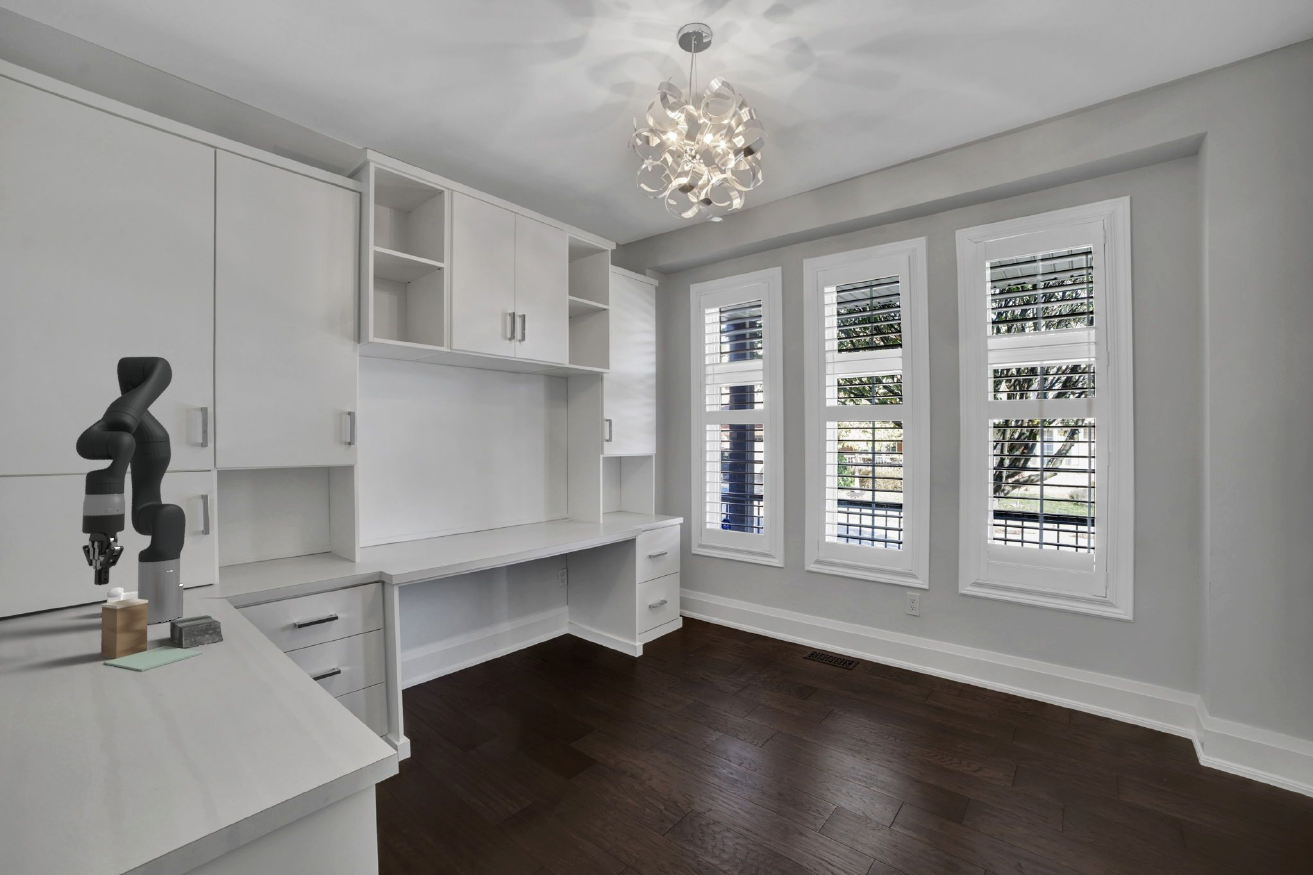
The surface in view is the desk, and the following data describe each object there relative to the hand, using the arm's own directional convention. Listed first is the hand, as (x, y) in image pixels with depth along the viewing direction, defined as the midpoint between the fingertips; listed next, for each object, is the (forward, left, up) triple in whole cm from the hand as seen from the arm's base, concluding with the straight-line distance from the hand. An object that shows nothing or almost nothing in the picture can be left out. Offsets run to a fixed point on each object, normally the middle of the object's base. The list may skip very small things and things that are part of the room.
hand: (101, 584), depth 142 cm
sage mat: (0, +21, -16) cm, 26 cm away
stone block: (-13, +14, -16) cm, 25 cm away
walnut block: (0, +9, -16) cm, 18 cm away
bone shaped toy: (-26, -35, -16) cm, 47 cm away
